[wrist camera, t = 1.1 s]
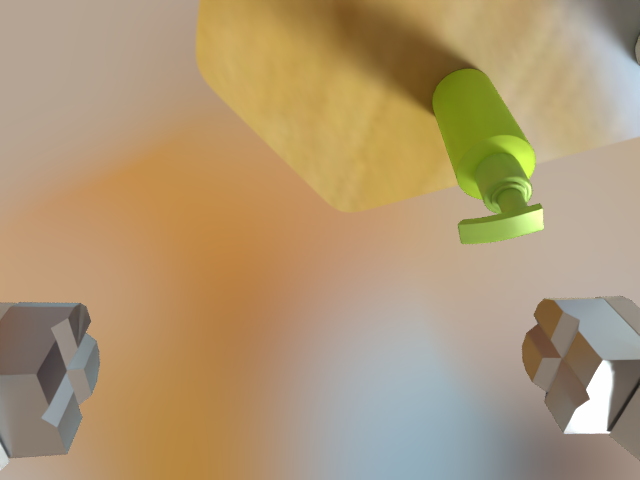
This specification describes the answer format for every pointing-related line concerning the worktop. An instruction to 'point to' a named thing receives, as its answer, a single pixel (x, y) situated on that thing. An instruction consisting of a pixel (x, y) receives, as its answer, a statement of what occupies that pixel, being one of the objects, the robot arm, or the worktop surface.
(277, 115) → the worktop surface
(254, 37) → the worktop surface
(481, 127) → the soap dispenser
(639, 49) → the spray can
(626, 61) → the worktop surface
